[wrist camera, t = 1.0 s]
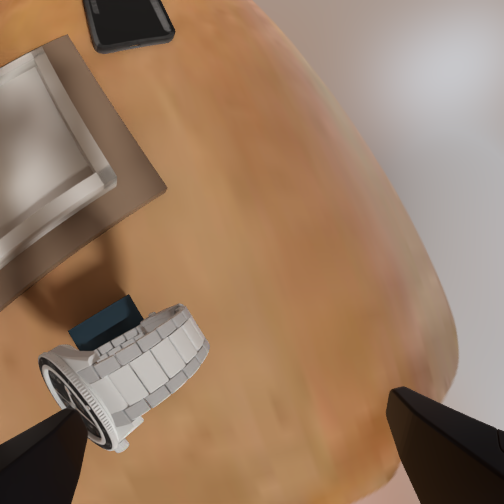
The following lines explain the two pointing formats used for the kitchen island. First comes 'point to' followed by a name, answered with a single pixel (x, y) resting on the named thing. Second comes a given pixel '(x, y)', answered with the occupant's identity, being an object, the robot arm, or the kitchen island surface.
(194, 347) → the watch
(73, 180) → the charging board
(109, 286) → the kitchen island surface
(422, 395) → the robot arm
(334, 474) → the kitchen island surface
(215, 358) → the kitchen island surface
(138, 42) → the phone
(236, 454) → the kitchen island surface
